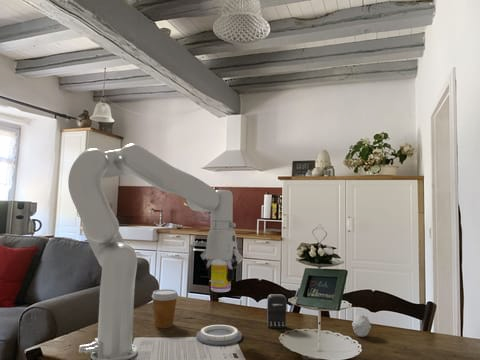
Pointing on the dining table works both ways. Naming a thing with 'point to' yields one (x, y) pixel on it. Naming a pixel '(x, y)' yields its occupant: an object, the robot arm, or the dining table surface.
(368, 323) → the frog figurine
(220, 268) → the supplement bottle
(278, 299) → the battery
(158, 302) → the disposable coffee cup
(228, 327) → the round holder
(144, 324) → the dining table surface
